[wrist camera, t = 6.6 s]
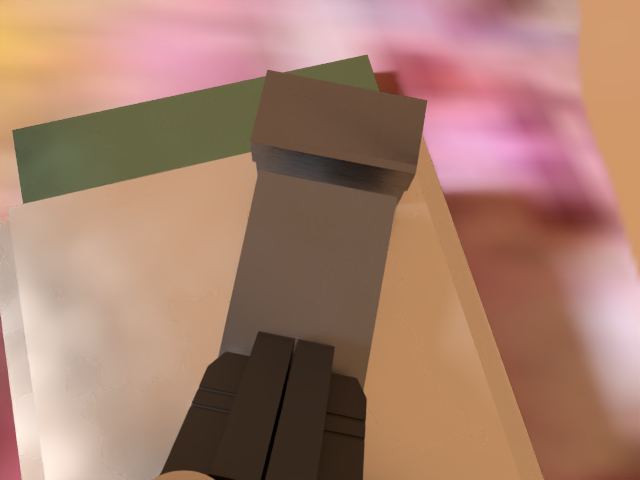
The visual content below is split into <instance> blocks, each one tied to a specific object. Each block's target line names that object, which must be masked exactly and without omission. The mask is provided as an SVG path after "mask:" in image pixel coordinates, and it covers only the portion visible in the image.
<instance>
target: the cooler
mask: <svg viewBox="0 0 640 480" xmlns="http://www.w3.org/2000/svg"><path fill="white" fill-rule="evenodd" d="M426 105H427V100H422V99H417V98H412V97H407V96H401V95H396V94H391V93H386V92H381V91H379V88H378V85H377V82H376V79H375V76H374V73H373V70H372V67H371V64H370V61H369V58H368V55H363V56H359V57H354V58H349V59H345V60H340V61H335V62H331V63H326V64H321V65H317V66H312V67H307V68H302V69H298V70H293V71H288V72H284V73H281V72H276V71H271V70H267V74H266V76H265V77H260V78H256V79H251V80H246V81H241V82H237V83H232V84H227V85H223V86H218V87H213V88H209V89H204V90H199V91H195V92H190V93H185V94H180V95H176V96H171V97H166V98H162V99H157V100H152V101H148V102H143V103H138V104H133V105H129V106H124V107H119V108H115V109H110V110H105V111H101V112H96V113H91V114H87V115H82V116H77V117H72V118H68V119H63V120H58V121H54V122H49V123H44V124H40V125H35V126H30V127H26V128H21V129H16V130H12V131H13V138H14V145H15V152H16V158H17V165H18V172H19V179H20V186H21V192H22V199H23V204H21V205H17V206H12V207H8V216H9V221H7V222H3V223H0V314H1V322H2V329H3V337H4V345H5V353H6V360H7V368H8V376H9V384H10V391H11V399H12V407H13V415H14V422H15V430H16V438H17V446H18V453H19V461H20V469H21V477H22V480H152V479H154V478H156V477H158V476H159V475H160V473H161V471H162V469H163V467H164V465H165V463H166V460H167V458H168V456H169V454H170V451H171V449H172V447H173V444H174V442H175V440H176V438H177V435H178V433H179V431H180V428H181V426H182V424H183V422H184V419H185V417H186V415H187V412H188V410H189V408H190V407H191V404H192V401H193V399H194V396H195V394H196V392H197V390H198V389H199V385H200V383H201V380H202V378H203V376H204V373H205V371H206V369H207V367H208V365H210V364H211V363H212V362H213V361H215V360H216V359H217V358H218V355H219V351H220V346H221V342H222V337H223V332H224V328H225V323H226V319H227V314H228V309H229V305H230V300H231V296H232V291H233V286H234V282H235V277H236V273H237V268H238V263H239V259H240V254H241V250H242V245H243V240H244V236H245V231H246V227H247V222H248V217H249V213H250V208H251V204H252V199H253V194H254V190H255V185H256V181H257V176H258V172H259V171H265V172H270V173H275V174H280V175H285V176H290V177H296V178H301V179H306V180H311V181H316V182H322V183H327V184H332V185H337V186H342V187H348V188H353V189H358V190H363V191H368V192H374V193H379V194H384V195H389V196H394V197H397V201H396V207H395V213H394V218H393V224H392V230H391V236H390V241H389V247H388V253H387V259H386V264H385V270H384V276H383V282H382V287H381V293H380V299H379V305H378V310H377V316H376V322H375V328H374V333H373V339H372V345H371V351H370V356H369V362H368V368H367V373H366V379H365V385H364V391H363V392H364V394H365V396H366V398H367V407H366V422H365V424H366V427H365V440H364V442H365V447H364V468H363V480H544V477H543V475H542V472H541V469H540V466H539V463H538V460H537V458H536V455H535V452H534V449H533V446H532V443H531V441H530V438H529V435H528V432H527V429H526V426H525V424H524V421H523V418H522V415H521V412H520V409H519V407H518V404H517V401H516V398H515V395H514V393H513V390H512V387H511V384H510V381H509V378H508V376H507V373H506V370H505V367H504V364H503V361H502V359H501V356H500V353H499V350H498V347H497V344H496V342H495V339H494V336H493V333H492V330H491V327H490V325H489V322H488V319H487V316H486V313H485V310H484V308H483V305H482V302H481V299H480V296H479V293H478V291H477V288H476V285H475V282H474V279H473V276H472V274H471V271H470V268H469V265H468V262H467V259H466V257H465V254H464V251H463V248H462V245H461V242H460V240H459V237H458V234H457V231H456V228H455V225H454V223H453V220H452V217H451V214H450V211H449V208H448V206H447V203H446V200H445V197H444V194H443V191H442V189H441V186H440V183H439V180H438V177H437V174H436V172H435V169H434V166H433V163H432V160H431V157H430V155H429V152H428V149H427V146H426V143H425V141H424V138H423V135H422V131H423V125H424V118H425V111H426Z"/></svg>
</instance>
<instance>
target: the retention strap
mask: <svg viewBox="0 0 640 480" xmlns="http://www.w3.org/2000/svg"><path fill="white" fill-rule="evenodd" d="M396 201H397V197H394V196H389V195H384V194H379V193H374V192H368V191H363V190H358V189H353V188H348V187H342V186H337V185H332V184H327V183H322V182H316V181H311V180H306V179H301V178H296V177H290V176H285V175H280V174H275V173H270V172H265V171H259V172H258V176H257V181H256V185H255V190H254V194H253V199H252V204H251V208H250V213H249V217H248V222H247V227H246V231H245V236H244V240H243V245H242V250H241V254H240V259H239V263H238V268H237V273H236V277H235V282H234V286H233V291H232V296H231V300H230V305H229V309H228V314H227V319H226V323H225V328H224V332H223V337H222V342H221V346H220V351H219V355H218V357H220V356H221V355H222V354H223V353H224V352H226V351H227V352H232V353H236V354H241V355H246V356H250V354H251V351H252V348H253V345H254V342H255V339H256V336H257V334H258V332H259V331H262V332H266V333H271V334H276V335H281V336H286V337H291V338H295V344H294V349H293V354H292V360H291V365H290V371H289V376H288V381H289V377H290V372H291V368H292V364H293V360H294V355H295V351H296V347H297V342H298V339H302V340H306V341H311V342H316V343H321V344H326V345H331V346H335V350H334V357H333V364H332V372H331V373H335V374H340V375H345V376H349V377H354V378H357V379H358V381H359V383H360V385H361V387H362V390H363V391H364V385H365V379H366V373H367V368H368V362H369V356H370V351H371V345H372V339H373V333H374V328H375V322H376V316H377V310H378V305H379V299H380V293H381V287H382V282H383V276H384V270H385V264H386V259H387V253H388V247H389V241H390V236H391V230H392V224H393V218H394V213H395V207H396ZM288 381H287V385H288ZM286 389H287V387H286ZM285 394H286V392H285ZM284 398H285V397H284Z"/></svg>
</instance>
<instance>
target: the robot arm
mask: <svg viewBox="0 0 640 480" xmlns="http://www.w3.org/2000/svg"><path fill="white" fill-rule="evenodd" d="M294 344H295V338H291V337H286V336H281V335H276V334H271V333H266V332H262V331H259V332H258V334H257V336H256V339H255V342H254V345H253V348H252V351H251V354H250V356H246V355H241V354H236V353H232V352H227V351H226V352H224V353H223V354H222V355H221V356H220V357H218V358H217V359H216V360H215V361H213V362H212V363H211V364H210V365H208V367H207V369H206V371H205V373H204V376H203V378H202V380H201V383H200V385H199V389H198V390H197V392H196V394H195V396H194V399H193V401H192V404H191V407H190V408H189V410H188V412H187V415H186V417H185V419H184V422H183V424H182V426H181V428H180V431H179V433H178V435H177V438H176V440H175V442H174V444H173V447H172V449H171V451H170V454H169V456H168V458H167V460H166V463H165V465H164V467H163V469H162V471H161V473H160V475H159V476H158V477H156V478H154V479H152V480H363V468H364V447H365V442H364V440H365V427H366V424H365V422H366V407H367V398H366V396H365V394H364V392H363V390H362V387H361V385H360V383H359V381H358V379H357V378H354V377H349V376H345V375H340V374H335V373H331V372H332V364H333V357H334V350H335V346H331V345H326V344H321V343H316V342H311V341H306V340H302V339H298V342H297V347H296V351H295V355H294V360H293V364H292V368H291V372H290V377H289V381H288V376H289V371H290V365H291V360H292V354H293V349H294ZM287 381H288V385H287ZM286 387H287V389H286ZM285 392H286V394H285ZM284 397H285V398H284Z"/></svg>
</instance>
